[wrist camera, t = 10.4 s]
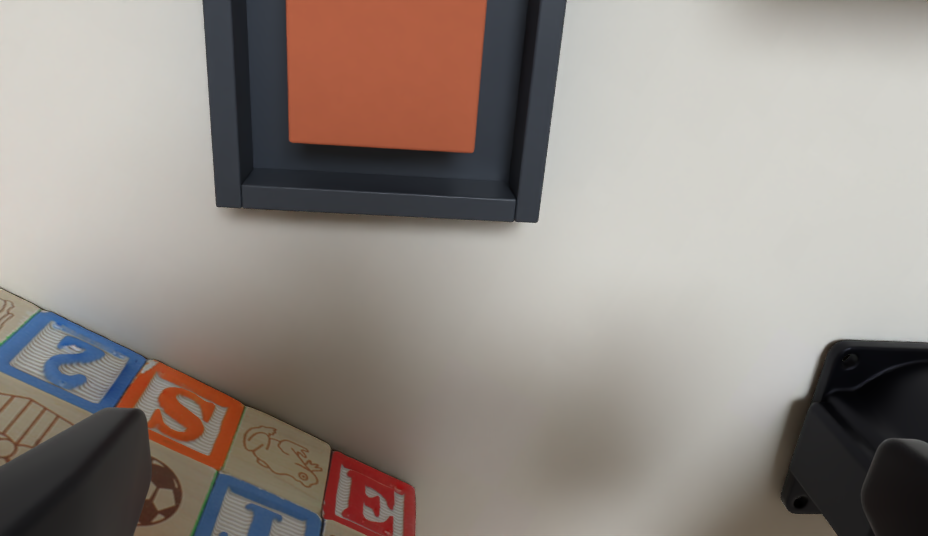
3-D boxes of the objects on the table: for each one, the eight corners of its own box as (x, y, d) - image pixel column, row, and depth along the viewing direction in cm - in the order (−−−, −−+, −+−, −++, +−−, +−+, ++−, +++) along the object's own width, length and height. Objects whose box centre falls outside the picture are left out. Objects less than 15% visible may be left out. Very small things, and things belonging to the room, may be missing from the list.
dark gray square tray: (564, -124, 16) (584, -135, 14) (525, 198, 19) (538, 224, 17) (216, -160, 15) (189, -175, 13) (234, 182, 18) (215, 207, 16)
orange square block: (479, -46, 16) (491, -46, 14) (465, 128, 18) (474, 154, 15) (301, -61, 16) (283, -63, 13) (304, 118, 17) (287, 143, 15)
